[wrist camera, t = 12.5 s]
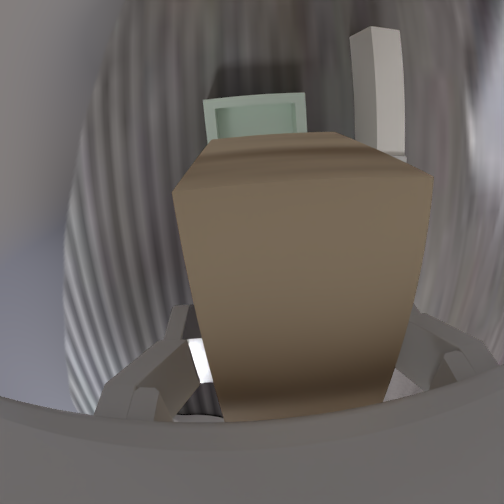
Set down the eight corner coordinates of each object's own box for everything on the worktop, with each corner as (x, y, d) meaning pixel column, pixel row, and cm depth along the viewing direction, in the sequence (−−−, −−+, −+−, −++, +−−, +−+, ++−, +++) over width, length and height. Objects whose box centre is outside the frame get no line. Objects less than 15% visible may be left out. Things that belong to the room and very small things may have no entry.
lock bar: (211, 139, 10) (172, 192, 4) (334, 131, 10) (433, 176, 4) (241, 364, 14) (242, 480, 9) (325, 355, 14) (354, 466, 9)
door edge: (368, 293, 33) (385, 323, 28) (347, 296, 33) (361, 327, 28) (375, 39, 21) (401, 29, 16) (348, 37, 21) (371, 25, 16)
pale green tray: (304, 240, 30) (309, 254, 27) (224, 247, 30) (222, 261, 27) (298, 93, 24) (304, 92, 21) (207, 100, 24) (202, 100, 21)
